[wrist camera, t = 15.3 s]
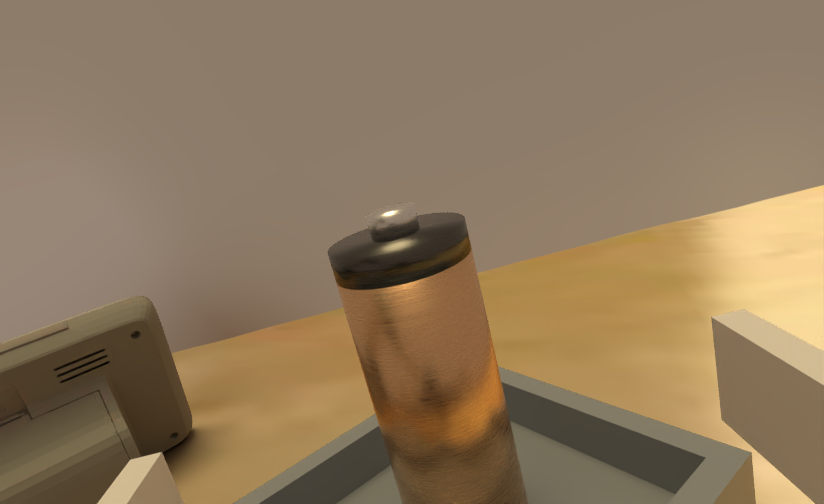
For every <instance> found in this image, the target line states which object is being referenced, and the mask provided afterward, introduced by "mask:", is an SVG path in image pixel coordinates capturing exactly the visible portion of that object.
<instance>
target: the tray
mask: <svg viewBox="0 0 824 504" xmlns="http://www.w3.org/2000/svg"><path fill="white" fill-rule="evenodd" d="M498 369H499V374H500V378H501V383H502V387H503V392H504V396H505V401H506V405H507V410H508V414H509V419H510V423H511V428H512V432H513V436H514V441H515V445H516V450H517V454H518V459H519V463H520V468H521V472H522V477H523V481H524V486H525V490H526V495H527V499H528V504H756V501H755V489H754V477H753V465H752V454H751V452H748V451H745V450H742V449H739V448H736V447H733V446H730V445H727V444H724V443H721V442H718V441H716V440H713V439H710V438H707V437H704V436H701V435H698V434H695V433H692V432H689V431H686V430H683V429H680V428H677V427H674V426H671V425H669V424H666V423H663V422H660V421H657V420H654V419H651V418H648V417H645V416H642V415H639V414H636V413H633V412H630V411H627V410H624V409H621V408H619V407H616V406H613V405H610V404H607V403H604V402H601V401H598V400H595V399H592V398H589V397H586V396H583V395H580V394H577V393H574V392H572V391H569V390H566V389H563V388H560V387H557V386H554V385H551V384H548V383H545V382H542V381H539V380H536V379H533V378H530V377H527V376H524V375H522V374H519V373H516V372H513V371H510V370H507V369H504V368H501V367H498ZM233 504H402V501H401V497H400V494H399V491H398V487H397V484H396V481H395V477H394V474H393V470H392V467H391V464H390V460H389V457H388V454H387V450H386V447H385V444H384V440H383V437H382V434H381V430H380V427H379V424H378V420H377V417H376V414H374V415H373V416H371V417H370V418H368V419H366V420H365V421H363V422H362V423H360V424H358V425H357V426H355V427H354V428H352V429H351V430H349V431H347V432H346V433H344V434H343V435H341V436H339V437H338V438H336V439H335V440H333V441H331V442H330V443H328V444H327V445H325V446H324V447H322V448H320V449H319V450H317V451H316V452H314V453H312V454H311V455H309V456H308V457H306V458H305V459H303V460H301V461H300V462H298V463H297V464H295V465H293V466H292V467H290V468H289V469H287V470H285V471H284V472H282V473H281V474H279V475H278V476H276V477H274V478H273V479H271V480H270V481H268V482H266V483H265V484H263V485H262V486H260V487H258V488H257V489H255V490H254V491H252V492H251V493H249V494H247V495H246V496H244V497H243V498H241V499H239V500H238V501H236V502H235V503H233Z"/></svg>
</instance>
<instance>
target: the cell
mask: <svg viewBox="0 0 824 504" xmlns="http://www.w3.org/2000/svg"><path fill="white" fill-rule="evenodd" d="M365 217H366V221H367V225H368V229H365V230H363V231H360V232H357V233H355V234H352V235H350V236H348V237H346V238H344V239H342V240H340V241H338V242H337V243H335V244H334V245H333V246H331V247H330V248H329V250H328V256H329V259H330V263H331V266H332V269H333V272H334V276H335V279H336V283H337V286H338V289H339V293H340V296H341V299H342V303H343V306H344V310H345V313H346V316H347V320H348V323H349V326H350V330H351V333H352V336H353V340H354V343H355V346H356V350H357V353H358V357H359V360H360V363H361V367H362V370H363V373H364V377H365V380H366V383H367V387H368V390H369V393H370V397H371V400H372V403H373V407H374V410H375V413H376V417H377V420H378V424H379V427H380V430H381V434H382V437H383V440H384V444H385V447H386V450H387V454H388V457H389V460H390V464H391V467H392V470H393V474H394V477H395V481H396V484H397V487H398V491H399V494H400V497H401V501H402V504H528V499H527V495H526V490H525V486H524V481H523V477H522V472H521V468H520V463H519V459H518V454H517V450H516V445H515V441H514V436H513V432H512V428H511V423H510V419H509V414H508V410H507V405H506V401H505V396H504V392H503V387H502V383H501V378H500V374H499V369H498V365H497V360H496V356H495V351H494V347H493V343H492V338H491V334H490V329H489V325H488V320H487V316H486V311H485V307H484V302H483V298H482V293H481V289H480V284H479V280H478V275H477V271H476V267H475V262H474V258H473V253H472V249H471V244H470V240H469V235H468V231H467V226H466V222H465V217H464V216H463V215H461V214H458V213H432V214H425V215H419V216H417V213H416V209H415V205H414V203H413V202H406V203H399V204H394V205H390V206H386V207H383V208H380V209H377V210H374V211H372V212H369V213H368V214H366V215H365Z"/></svg>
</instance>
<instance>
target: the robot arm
mask: <svg viewBox="0 0 824 504" xmlns="http://www.w3.org/2000/svg"><path fill="white" fill-rule="evenodd" d="M711 318H712V328H713V338H714V348H715V358H716V368H717V378H718V387H719V397H720V407H721V417H722V420H723V421H724V422H725V423H726V424H727V425H728V426H729V427H731V428H732V429H733V430H734V431H735V432H736V433H737V434H738V435H740V436H741V437H742V438H743V439H744V440H745V441H746V442H747V443H748V444H750V445H751V446H752V447H753V448H754V449H755V450H756V451H757V452H758V453H760V454H761V455H762V456H763V457H764V458H765V459H766V460H767V461H769V462H770V463H771V464H772V465H773V466H774V467H775V468H776V469H777V470H779V471H780V472H781V473H782V474H783V475H784V476H785V477H786V478H788V479H789V480H790V481H791V482H792V483H793V484H794V485H795V486H796V487H798V488H799V489H800V490H801V491H802V492H803V493H804V494H805V495H807V496H808V497H809V498H810V499H811V500H812V501H813V502H814V503H815V504H824V351H822V350H821V349H819V348H817V347H815V346H813V345H811V344H809V343H807V342H805V341H804V340H802V339H800V338H798V337H796V336H794V335H792V334H790V333H788V332H787V331H785V330H783V329H781V328H779V327H777V326H775V325H773V324H771V323H770V322H768V321H766V320H764V319H762V318H760V317H758V316H756V315H754V314H753V313H751V312H749V311H747V310H745V309H742V310H738V311H734V312H730V313H726V314H722V315H717V316H713V317H711ZM97 504H184V502H183V500H182V498H181V495H180V493H179V491H178V488H177V486H176V484H175V481H174V479H173V477H172V474H171V472H170V470H169V467H168V465H167V463H166V461H165V458H164V456H163V454H162V452H160V453H156V454H152V455H148V456H143V457H139V458H135V459H131V460H130V461H129V462H128V463H127V465H126V466H125V467H124V469H123V470H122V471H121V473H120V474H119V475H118V477H117V478H116V479H115V481H114V482H113V483H112V485H111V486H110V487H109V489H108V490H107V491H106V493H105V494H104V495H103V497H102V498H101V499H100V501H99V502H98V503H97Z"/></svg>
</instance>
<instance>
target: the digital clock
mask: <svg viewBox="0 0 824 504" xmlns="http://www.w3.org/2000/svg"><path fill="white" fill-rule="evenodd" d="M191 428H192V415H191V411H190V408H189V405H188V402H187V399H186V396H185V393H184V390H183V387H182V384H181V381H180V378H179V375H178V372H177V369H176V366H175V363H174V360H173V357H172V354H171V352H170V349H169V346H168V343H167V340H166V337H165V334H164V331H163V328H162V325H161V322H160V319H159V317H158V314H157V312H156V309H155V307H154V305H153V303H152V302H151V301H150V299H148V298H147V297H144V296H136V297H130V298H126V299H122V300H119V301H116V302H113V303H110V304H107V305H104V306H102V307H99V308H96V309H93V310H90V311H87V312H85V313H82V314H79V315H76V316H73V317H71V318H68V319H65V320H62V321H60V322H57V323H54V324H52V325H49V326H46V327H44V328H41V329H38V330H35V331H32V332H30V333H27V334H24V335H21V336H19V337H16V338H13V339H11V340H8V341H5V342H2V343H0V504H97V503H98V502H99V501H100V499H101V498H102V497H103V495H104V494H105V493H106V491H107V490H108V489H109V487H110V486H111V485H112V483H113V482H114V481H115V479H116V478H117V477H118V475H119V474H120V473H121V471H122V470H123V469H124V467H125V466H126V465H127V463H128V462H129V461H130V460H131V459H135V458H139V457H143V456H148V455H152V454H156V453H160V452H162V453H163V452H165V451H166V450H168V449H170V448H172V447H173V446H175V445H177V444H178V443H180V442H181V441H183V440H184V439H185V438H186V436H187V435H188V434H189V432H190V430H191Z"/></svg>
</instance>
